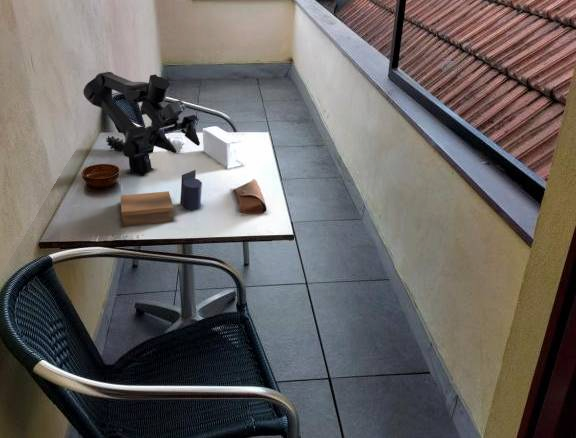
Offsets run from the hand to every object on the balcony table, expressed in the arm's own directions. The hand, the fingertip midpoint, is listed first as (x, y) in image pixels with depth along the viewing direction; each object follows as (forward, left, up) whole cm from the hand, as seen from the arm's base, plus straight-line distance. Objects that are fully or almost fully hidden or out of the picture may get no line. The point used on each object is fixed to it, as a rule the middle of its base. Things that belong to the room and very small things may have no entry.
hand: (187, 148), depth 166 cm
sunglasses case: (+19, +3, -15) cm, 25 cm away
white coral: (-22, +30, -12) cm, 40 cm away
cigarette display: (-5, +31, -15) cm, 35 cm away
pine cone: (-41, +22, -13) cm, 48 cm away
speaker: (+5, -7, -15) cm, 18 cm away
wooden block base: (-5, -16, -15) cm, 23 cm away
